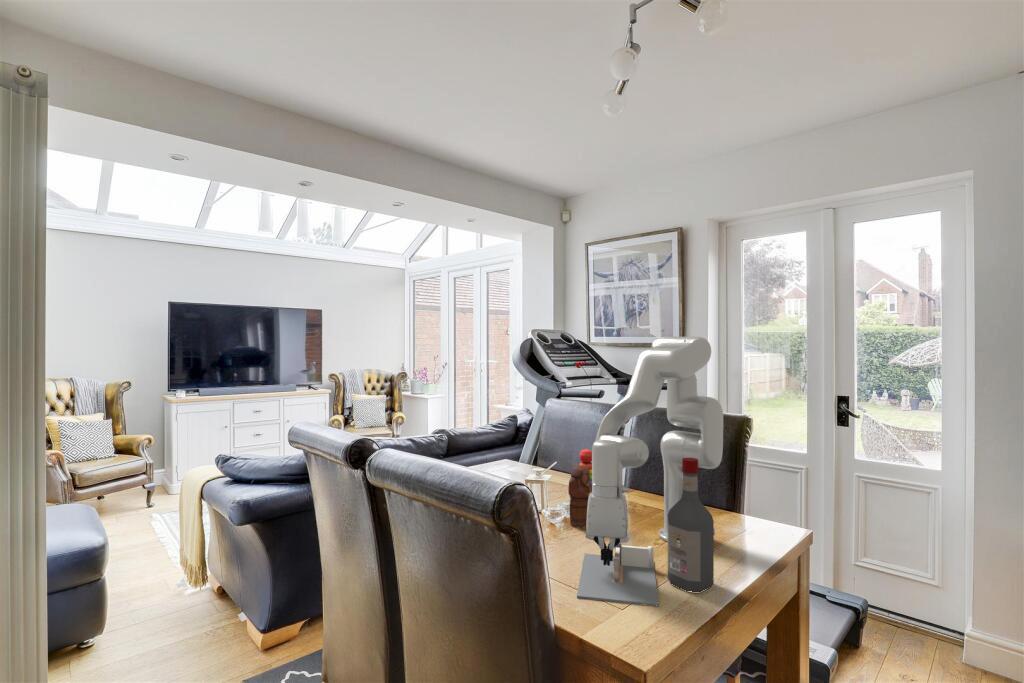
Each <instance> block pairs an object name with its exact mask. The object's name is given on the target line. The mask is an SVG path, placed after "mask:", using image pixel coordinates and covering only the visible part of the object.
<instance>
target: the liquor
mask: <svg viewBox="0 0 1024 683" xmlns="http://www.w3.org/2000/svg"><path fill="white" fill-rule="evenodd" d="M682 472H683V493H682V495H681V497H682V498H681V499H680V500H679V501H678V502H677V503H676V504H675V505H674V506H673V507H672V508H671V509H670V510H669V512H668V542H667V578H668V581H669V584H670V585H671V584H673V585H675V586H674V587H676V586H677V587H676V588H678V587H679V588H678V589H680V588H682V589H684V590H686V591H685V592H687V591H692V592H701V591H703V590H705V589H707V588H709V587H711V588H712V587H713V586H714V572H715V571H714V570H715V567H714V565H715V564H714V563H715V562H714V561H715V559H714V555H715V554H714V538H715V537H714V536H715V535H714V529H715V528H714V527H715V526H714V525H715V524H714V521H715V520H714V519H713V515H712V513H711V512H710V511H709V510H708V509H707V507H706V506H705V505H704V504H703V503H702V501H701V500H700V496H699V490H698V487H699V483H698V482H699V480H698V478H699V477H698V476H699V467H698V459H696V458H682ZM673 585H672V586H673ZM682 589H681V590H682ZM709 589H710V588H709ZM684 590H683V591H684ZM707 590H708V589H707ZM705 591H706V590H705ZM703 592H704V591H703ZM701 593H702V592H701Z"/></svg>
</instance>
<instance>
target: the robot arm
mask: <svg viewBox="0 0 1024 683" xmlns="http://www.w3.org/2000/svg"><path fill="white" fill-rule="evenodd" d="M711 357H712V347H711V344H710V342H709V341H708V340H707V339H706V338H705V337H701V336H664V337H663V336H662V337H657V338H656V339H654V340H653V341H652V342H651V348H648V349H645V350H643V351H641V353H640V354H639V355H638V357H637V360H636V363H635V366H634V369H633V373H632V376H631V379H630V382H629V385H628V387H627V391H626V393H625V396H624V397H623V398H622V399H620V400H619V402H617V403H616V404H614V406H613V407H612V408H611V409H610V410H609V411H608V412H607V413H606V414H605V416H604V417H603V418H602V419H601V422H600V424H599V428H598V430H597V433H596V437H595V441H594V442H593V444H592V447H591V449H592V450H591V452H592V461H591V462H592V493H590V494H589V498H588V506H587V521H586V525H585V526H586V533H585V538H586V539H587V540H590V541H593V542H595V543H596V544H597V545H598V547H599V549H600V555H601V560H603V565H606V564H607V565H608V566H610V561H613V556H614V550H615V547H616V546H617V545H618V544H619V543H621V544H623V543H628V542H629V540H630V538H629V533H628V530H629V521H628V520H629V518H628V516H629V515H628V514H629V513H628V505H627V497H626V495H625V493H629V487H628V486H626V485H624V484H623V470H624V469H626V468H627V469H632V468H633V469H634V468H639V467H641V466H643V465H644V464H645V463H646V462H647V461H648V458H649V456H650V451H649V450H650V449H649V447H648V445H647V443H646V442H645V441H644V440H642V439H639V438H637V437H632V436H631V437H630V436H625V435H619V434H618V433H619V431H620V429H621V427H622V426H623V425H624V424H625V423H627V422H628V421H629V420H630V419H633V418H635V417H637V416H641V415H643V414H646V413H648V412H651V411H653V410H655V409H656V408H657V407H658V406H657V405H658V402H659V399H660V395H661V391H662V388H663V386H664V382H665V381H666V387H667V388H666V417H667V420H668V422H669V423H670V424H671V425H673V426H676V427H682V428H689V429H695V430H700V433H699V432H698V433H697V432H691V431H684V430H670V431H667V432H666V433H665V434H663V436H662V437H661V440H660V453H661V456H662V457H661V458H662V464H663V527H661V528H660V529H659V530H658V536H659V538H660V539H661V540H663V541H665V542H667V543H668V512H669V510H670V509H671V508H672V507H673V506H674V505H675V504H676V503H677V502H678V501H679V500H680V499H681V498H682V497H681V495H682V493H683V472H682V458H696V459H698V468H700V469H707V470H708V469H709V470H714V469H716V468H718V467H719V466H720V464H721V462H722V459H723V453H724V452H723V450H724V449H723V448H724V410H723V406H722V405H721V403H720V401H719V400H717V399H716V398H714V397H710V396H704V395H703V396H702V395H698V383H697V382H698V381H697V380H698V379H697V376H696V373H698V371H700V370H701V369H702V368H704V367H705V366H706V365H707V364H708V363H709V362H710V359H711ZM715 532H716V530H715V528H714V536H715V535H716V533H715ZM605 538H609V542H608V544H606V541H605Z"/></svg>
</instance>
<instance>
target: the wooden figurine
mask: <svg viewBox="0 0 1024 683" xmlns="http://www.w3.org/2000/svg"><path fill="white" fill-rule="evenodd" d="M567 486H568V488H567V489H568V490H567V491H568V496H569V498H570V499H569V523H570V526H573V527H585V526H586V521H587V506H588V498H589V494H590V493H592V486H591V479H590V471H589V469H588V468H587V467H586V466H582V465H580V464H579V465H576V466H574V467H573V468H572V470H571V473H570V479H569V480H568V485H567Z"/></svg>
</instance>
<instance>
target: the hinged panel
mask: <svg viewBox="0 0 1024 683" xmlns="http://www.w3.org/2000/svg"><path fill="white" fill-rule="evenodd" d="M614 556H615V559H613V580H614V581H619V569H620V548H617V547H616V551H615V550H614Z"/></svg>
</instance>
